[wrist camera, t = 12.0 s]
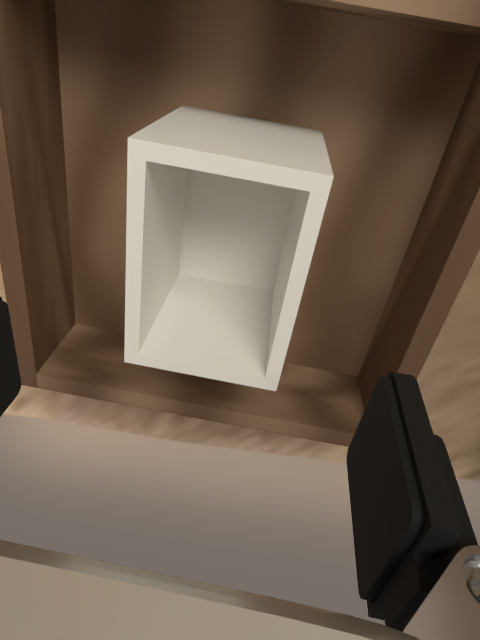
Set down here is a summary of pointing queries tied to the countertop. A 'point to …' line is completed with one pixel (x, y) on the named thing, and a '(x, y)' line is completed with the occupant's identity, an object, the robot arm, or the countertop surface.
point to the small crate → (220, 242)
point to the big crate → (260, 103)
